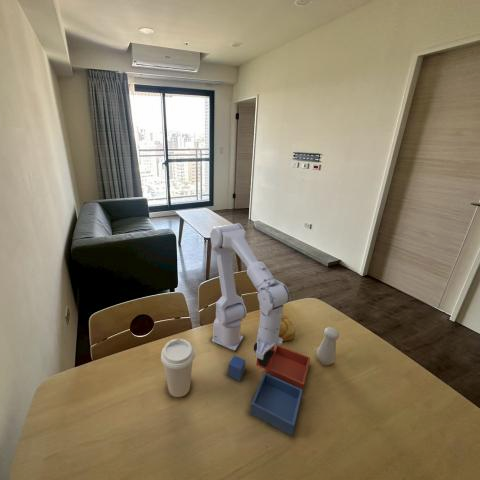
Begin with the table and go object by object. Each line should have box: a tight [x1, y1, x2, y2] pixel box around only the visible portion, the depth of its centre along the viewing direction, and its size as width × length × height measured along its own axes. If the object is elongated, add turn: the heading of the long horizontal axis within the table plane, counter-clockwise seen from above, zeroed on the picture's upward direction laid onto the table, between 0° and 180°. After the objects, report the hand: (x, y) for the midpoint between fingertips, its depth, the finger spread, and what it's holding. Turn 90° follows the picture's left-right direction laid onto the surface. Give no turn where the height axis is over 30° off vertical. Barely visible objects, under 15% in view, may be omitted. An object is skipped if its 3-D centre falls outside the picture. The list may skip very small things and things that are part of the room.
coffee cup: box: [160, 338, 196, 398], centre depth 73 cm, size 10×10×15 cm
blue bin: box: [249, 372, 304, 437], centre depth 70 cm, size 11×11×4 cm
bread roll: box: [279, 313, 296, 342], centre depth 96 cm, size 13×10×8 cm
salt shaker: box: [316, 326, 340, 367], centre depth 83 cm, size 6×6×13 cm
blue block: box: [227, 354, 246, 382], centre depth 79 cm, size 4×4×5 cm
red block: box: [255, 347, 275, 371], centre depth 75 cm, size 4×4×5 cm
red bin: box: [265, 344, 311, 393], centre depth 80 cm, size 11×11×4 cm
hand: (265, 359), depth 75 cm, fingers closed on red block, 4 cm apart
